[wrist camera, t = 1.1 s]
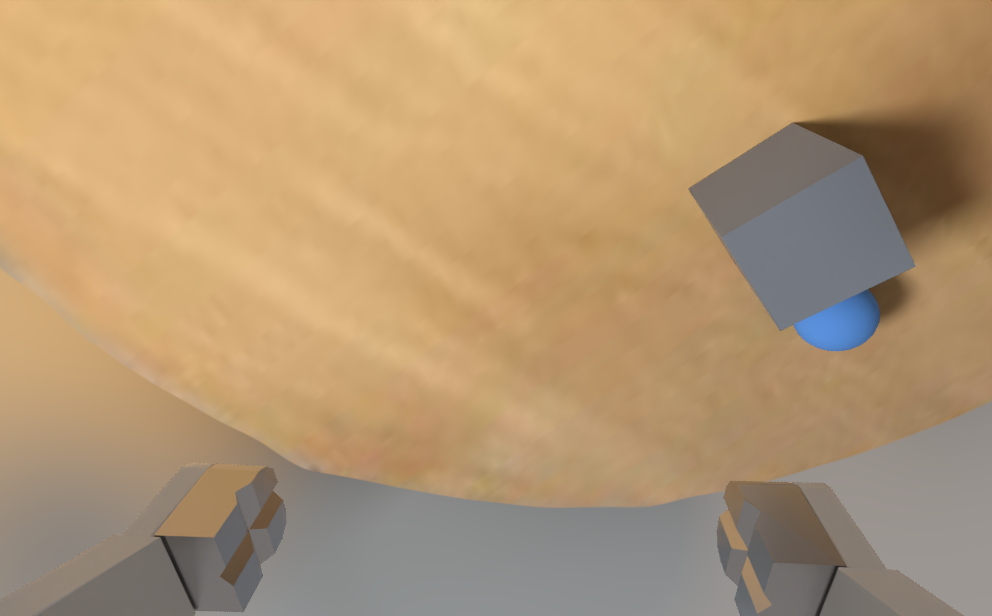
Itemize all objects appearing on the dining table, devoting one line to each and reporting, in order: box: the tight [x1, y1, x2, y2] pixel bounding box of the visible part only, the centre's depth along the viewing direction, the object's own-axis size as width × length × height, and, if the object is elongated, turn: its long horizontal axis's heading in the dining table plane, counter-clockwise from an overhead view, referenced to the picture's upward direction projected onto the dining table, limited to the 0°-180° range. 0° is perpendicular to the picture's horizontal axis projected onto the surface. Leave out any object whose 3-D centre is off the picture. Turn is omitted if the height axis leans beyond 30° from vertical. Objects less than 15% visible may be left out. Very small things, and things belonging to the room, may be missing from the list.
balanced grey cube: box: [689, 123, 915, 331], centre depth 30 cm, size 7×7×9 cm
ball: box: [794, 289, 880, 351], centre depth 35 cm, size 5×5×5 cm
